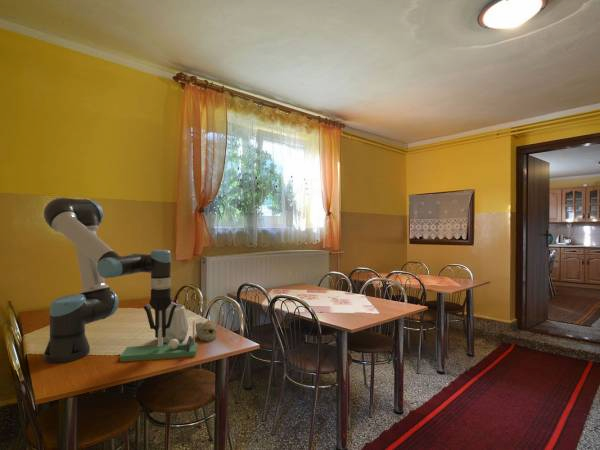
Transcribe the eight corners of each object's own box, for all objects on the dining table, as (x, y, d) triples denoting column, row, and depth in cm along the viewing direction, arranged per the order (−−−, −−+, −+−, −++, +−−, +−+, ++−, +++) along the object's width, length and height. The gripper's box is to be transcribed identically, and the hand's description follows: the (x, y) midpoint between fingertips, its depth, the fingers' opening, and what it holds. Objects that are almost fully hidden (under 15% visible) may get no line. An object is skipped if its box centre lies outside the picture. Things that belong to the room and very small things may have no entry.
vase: (168, 347, 146) (169, 312, 145) (148, 340, 153) (149, 307, 153) (194, 338, 157) (195, 305, 157) (175, 332, 165) (175, 301, 165)
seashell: (215, 340, 153) (205, 320, 153) (197, 348, 154) (187, 329, 154) (223, 332, 163) (214, 313, 163) (206, 339, 164) (197, 321, 165)
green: (120, 361, 130) (120, 330, 130) (127, 351, 140) (127, 322, 140) (195, 356, 136) (195, 326, 136) (197, 347, 146) (197, 319, 146)
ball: (169, 352, 137) (166, 343, 136) (171, 348, 141) (168, 339, 140) (179, 348, 138) (176, 339, 137) (180, 345, 141) (177, 336, 141)
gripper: (141, 290, 133) (141, 349, 133) (176, 288, 136) (175, 347, 136) (145, 286, 140) (145, 343, 140) (178, 285, 143) (178, 340, 143)
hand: (160, 345), depth 138 cm, fingers closed
